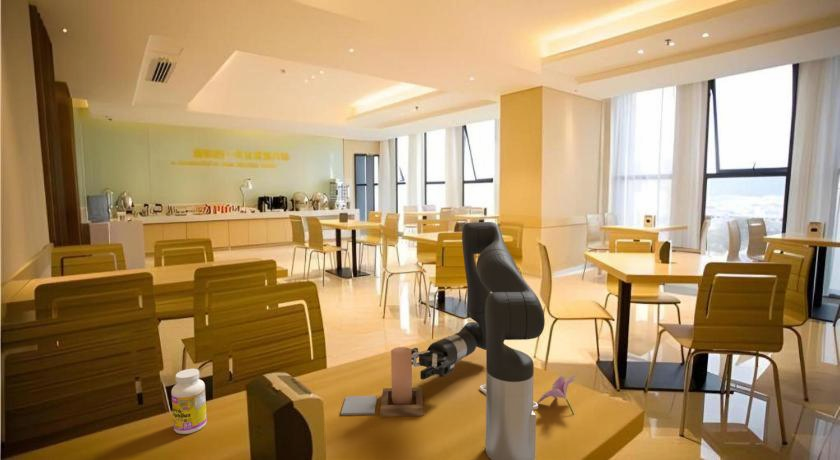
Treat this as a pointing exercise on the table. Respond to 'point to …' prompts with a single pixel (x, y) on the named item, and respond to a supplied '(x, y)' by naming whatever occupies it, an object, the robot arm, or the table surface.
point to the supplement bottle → (188, 402)
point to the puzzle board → (401, 409)
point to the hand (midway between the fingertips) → (408, 370)
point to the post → (401, 376)
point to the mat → (359, 405)
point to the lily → (559, 389)
